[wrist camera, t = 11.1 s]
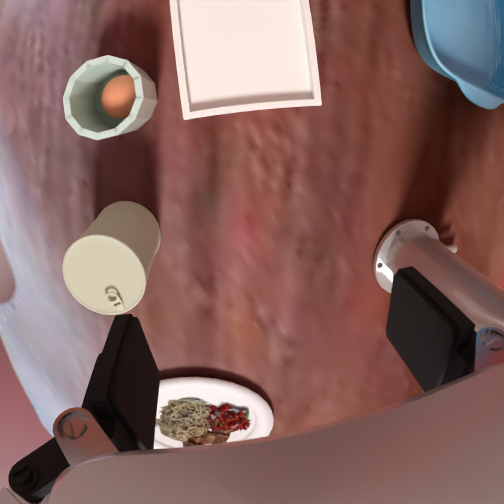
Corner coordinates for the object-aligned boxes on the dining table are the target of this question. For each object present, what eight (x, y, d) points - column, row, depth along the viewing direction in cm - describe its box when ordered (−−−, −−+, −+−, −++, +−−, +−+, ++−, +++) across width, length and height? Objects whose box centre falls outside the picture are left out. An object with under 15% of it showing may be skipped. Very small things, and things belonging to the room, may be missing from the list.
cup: (152, 60, 32) (137, 47, 24) (161, 124, 35) (148, 128, 27) (88, 77, 31) (59, 70, 23) (97, 139, 34) (70, 147, 27)
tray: (299, -23, 29) (303, -28, 27) (316, 105, 36) (321, 105, 35) (169, -14, 28) (168, -19, 26) (184, 119, 35) (183, 120, 34)
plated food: (94, 410, 54) (91, 423, 51) (200, 342, 49) (200, 357, 46) (196, 466, 66) (196, 477, 63) (299, 419, 61) (303, 431, 58)
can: (114, 275, 42) (90, 327, 31) (83, 217, 38) (44, 256, 27) (172, 252, 42) (161, 302, 31) (142, 189, 38) (117, 220, 27)
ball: (138, 76, 32) (146, 67, 28) (144, 115, 34) (152, 111, 30) (97, 84, 30) (99, 75, 26) (103, 124, 32) (106, 121, 28)
